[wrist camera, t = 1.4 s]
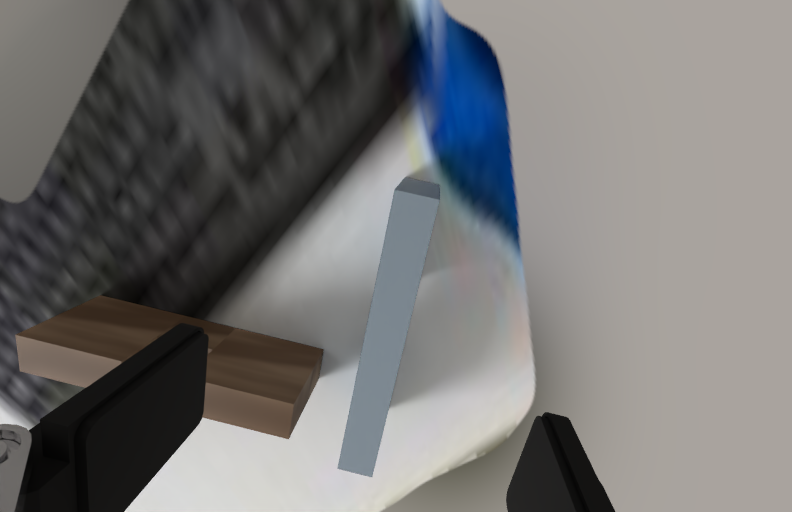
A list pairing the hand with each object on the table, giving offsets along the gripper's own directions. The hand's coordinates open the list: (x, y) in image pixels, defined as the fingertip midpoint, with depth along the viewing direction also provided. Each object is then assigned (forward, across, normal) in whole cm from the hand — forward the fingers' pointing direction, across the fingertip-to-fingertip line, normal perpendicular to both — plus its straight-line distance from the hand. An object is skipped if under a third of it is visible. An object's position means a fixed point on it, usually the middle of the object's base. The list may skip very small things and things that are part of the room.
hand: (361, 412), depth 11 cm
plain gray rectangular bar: (+19, 0, +5) cm, 20 cm away
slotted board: (+19, +15, +12) cm, 27 cm away
